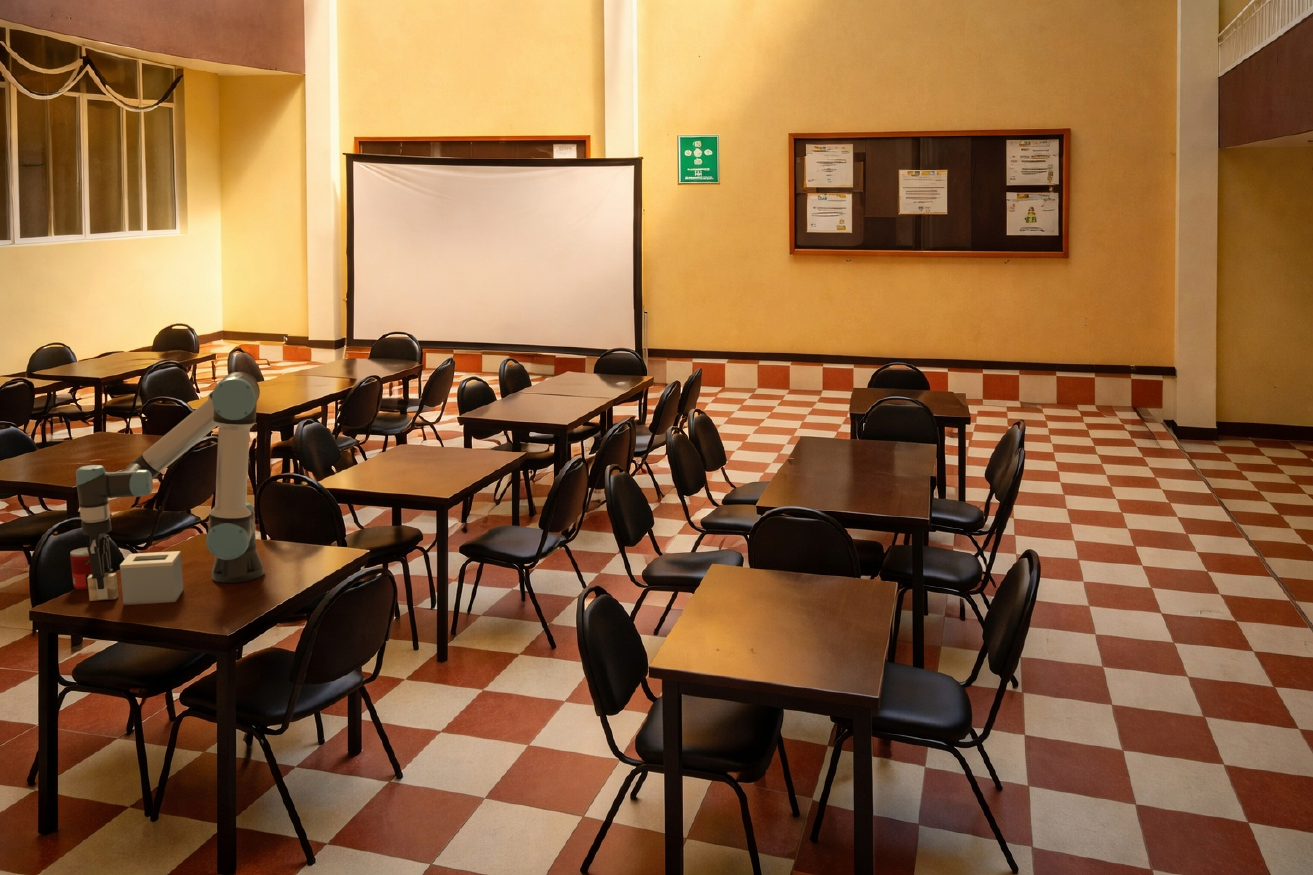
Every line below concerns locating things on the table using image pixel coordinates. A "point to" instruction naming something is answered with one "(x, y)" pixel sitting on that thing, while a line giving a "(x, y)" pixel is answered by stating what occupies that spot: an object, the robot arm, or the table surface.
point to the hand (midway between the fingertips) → (105, 596)
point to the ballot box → (151, 577)
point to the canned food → (80, 568)
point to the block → (111, 587)
